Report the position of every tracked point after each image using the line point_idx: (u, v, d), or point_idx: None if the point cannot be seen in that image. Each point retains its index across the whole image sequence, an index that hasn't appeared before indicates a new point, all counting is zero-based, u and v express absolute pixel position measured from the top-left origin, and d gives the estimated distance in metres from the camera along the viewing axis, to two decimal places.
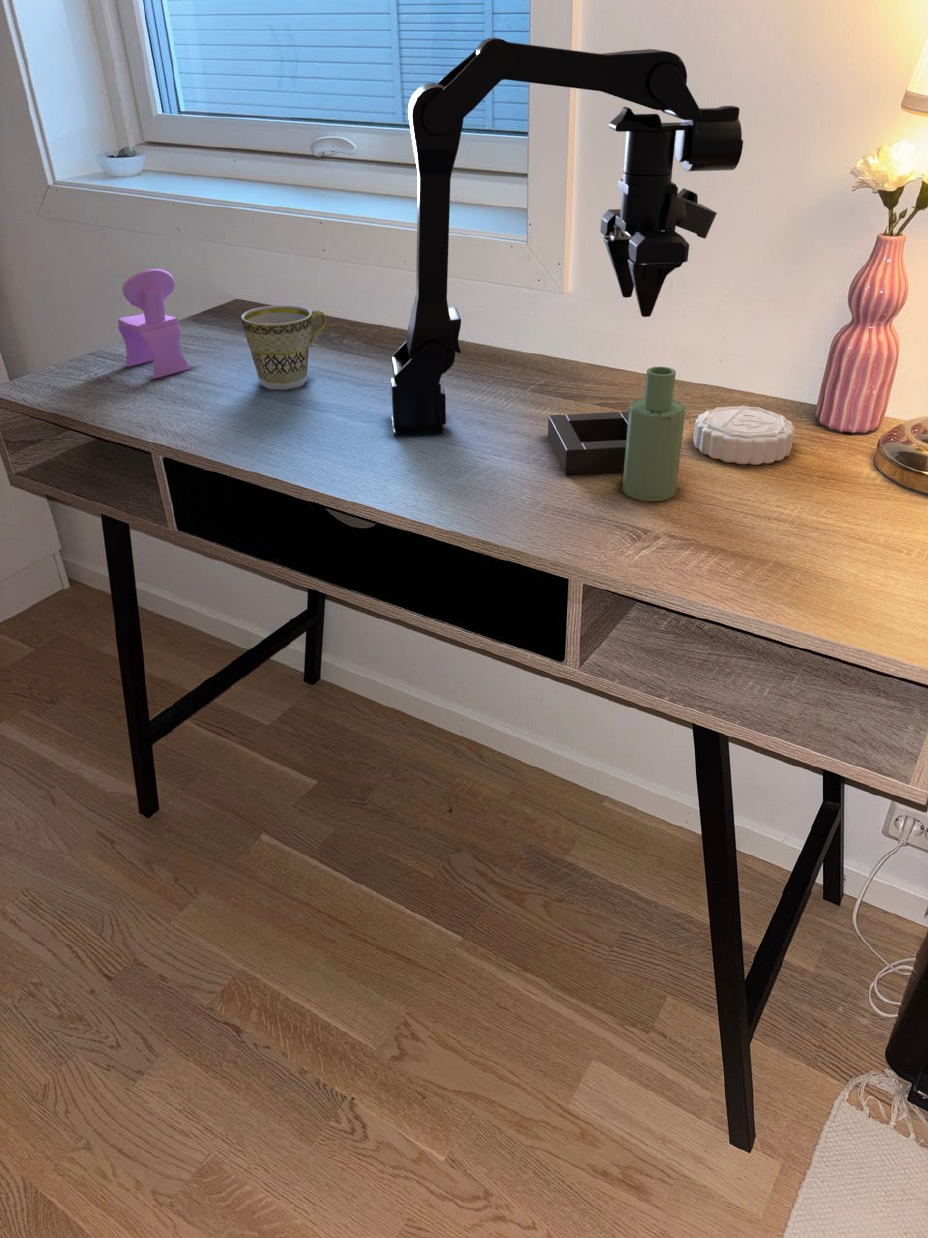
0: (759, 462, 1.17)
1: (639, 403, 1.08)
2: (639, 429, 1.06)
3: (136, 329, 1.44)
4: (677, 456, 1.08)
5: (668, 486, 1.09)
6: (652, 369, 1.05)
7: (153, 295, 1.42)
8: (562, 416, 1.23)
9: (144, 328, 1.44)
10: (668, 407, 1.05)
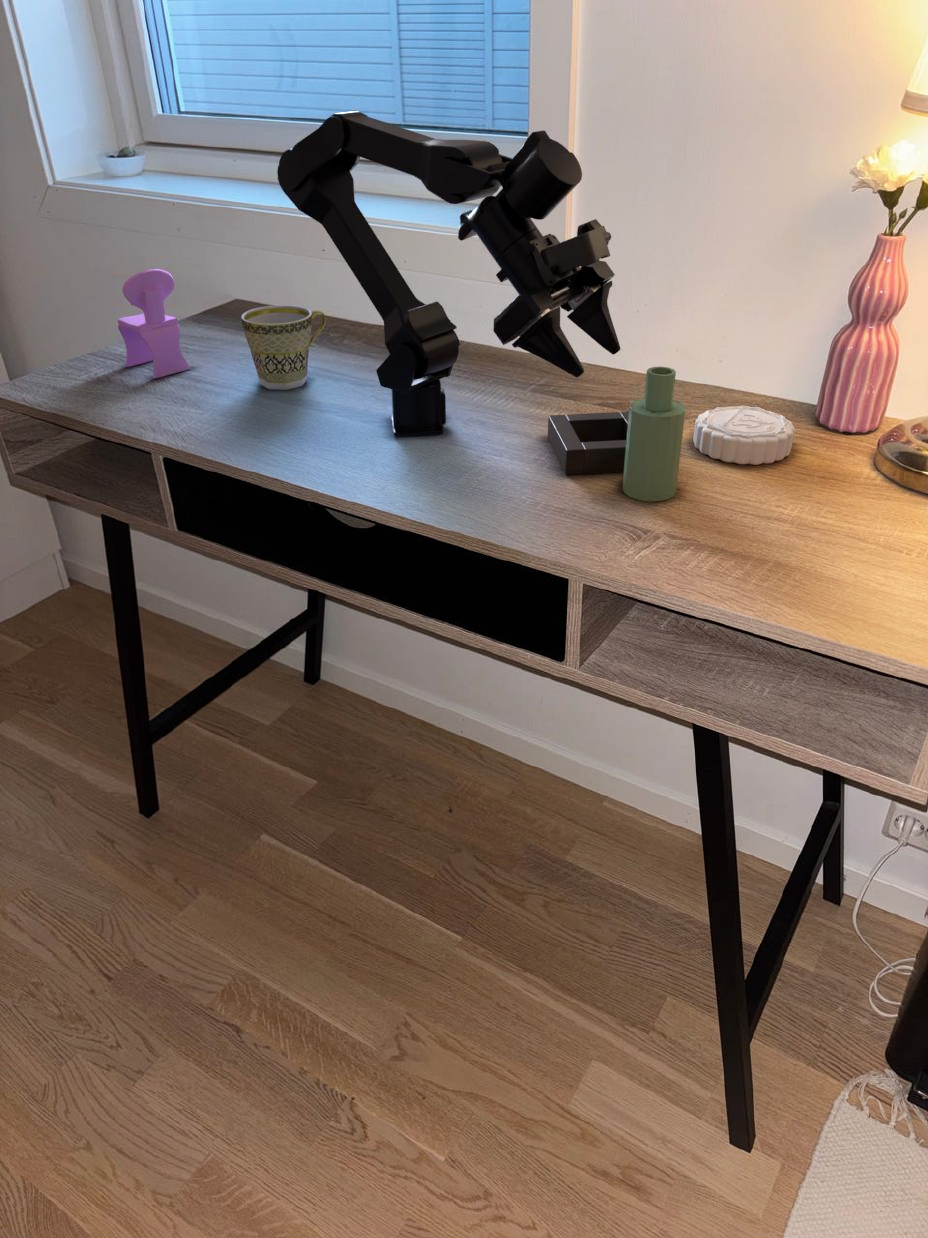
0: (759, 462, 1.17)
1: (639, 403, 1.08)
2: (639, 429, 1.06)
3: (136, 329, 1.44)
4: (677, 456, 1.08)
5: (668, 486, 1.09)
6: (652, 369, 1.05)
7: (153, 295, 1.42)
8: (562, 416, 1.23)
9: (144, 328, 1.44)
10: (668, 407, 1.05)
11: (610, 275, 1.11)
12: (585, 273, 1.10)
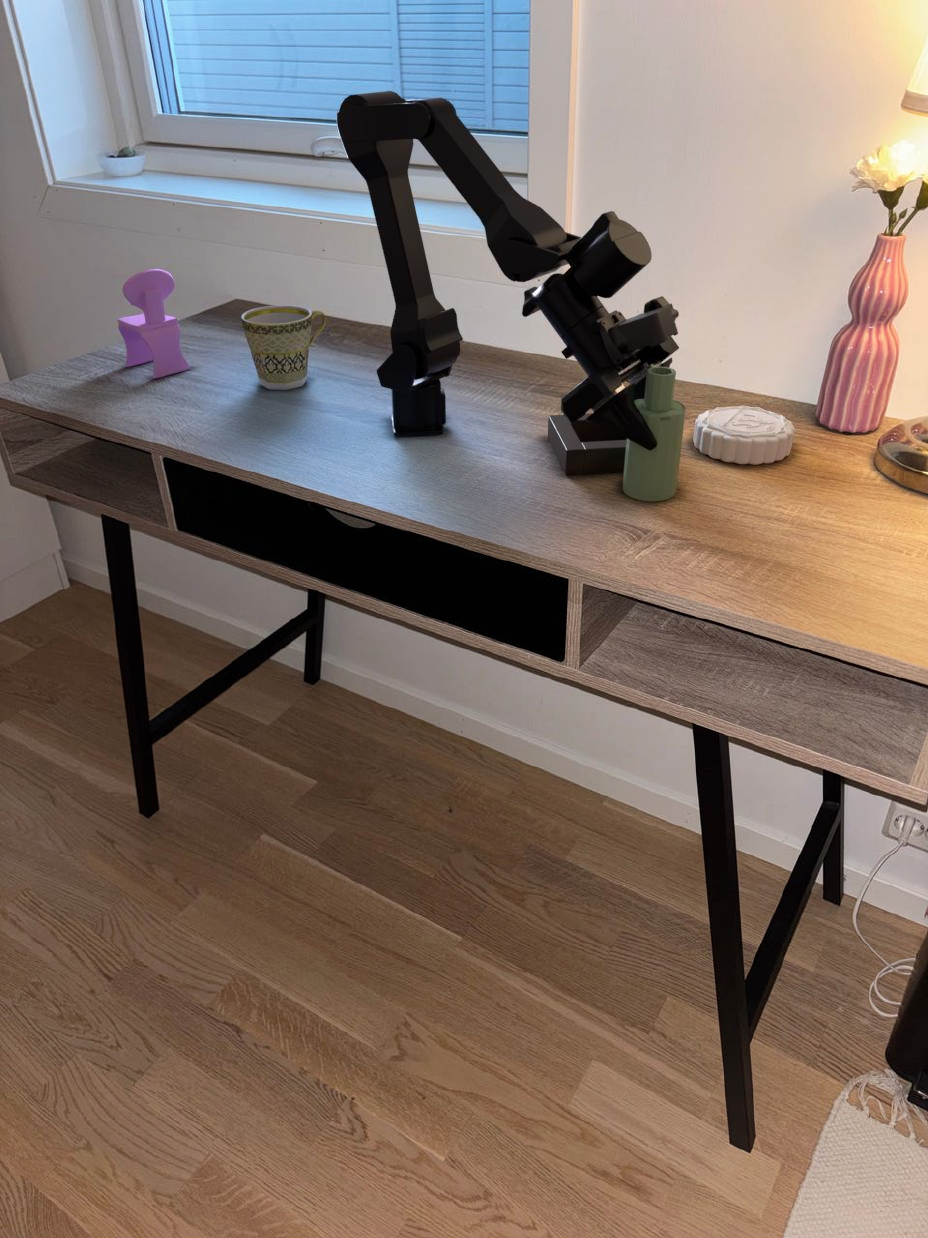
0: (759, 462, 1.17)
1: (639, 403, 1.08)
2: None
3: (136, 329, 1.44)
4: (677, 456, 1.08)
5: (668, 486, 1.09)
6: (652, 369, 1.05)
7: (153, 295, 1.42)
8: (562, 416, 1.23)
9: (144, 328, 1.44)
10: (668, 407, 1.05)
11: (675, 348, 1.11)
12: (650, 347, 1.10)
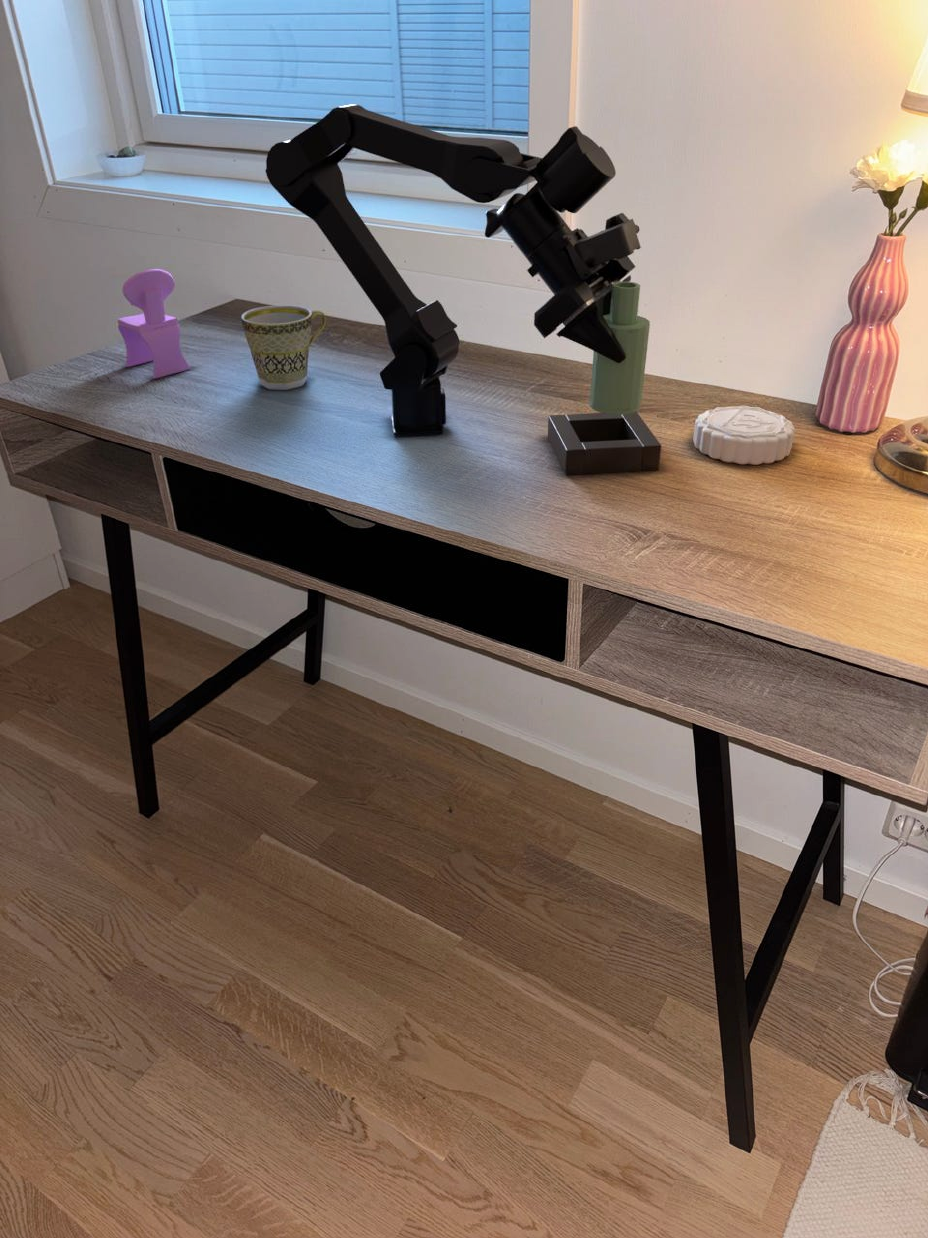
0: (759, 462, 1.17)
1: None
2: None
3: (136, 329, 1.44)
4: (643, 369, 1.12)
5: (635, 399, 1.13)
6: (617, 284, 1.09)
7: (153, 295, 1.42)
8: (562, 416, 1.23)
9: (144, 328, 1.44)
10: (634, 320, 1.09)
11: (632, 267, 1.15)
12: (609, 266, 1.13)
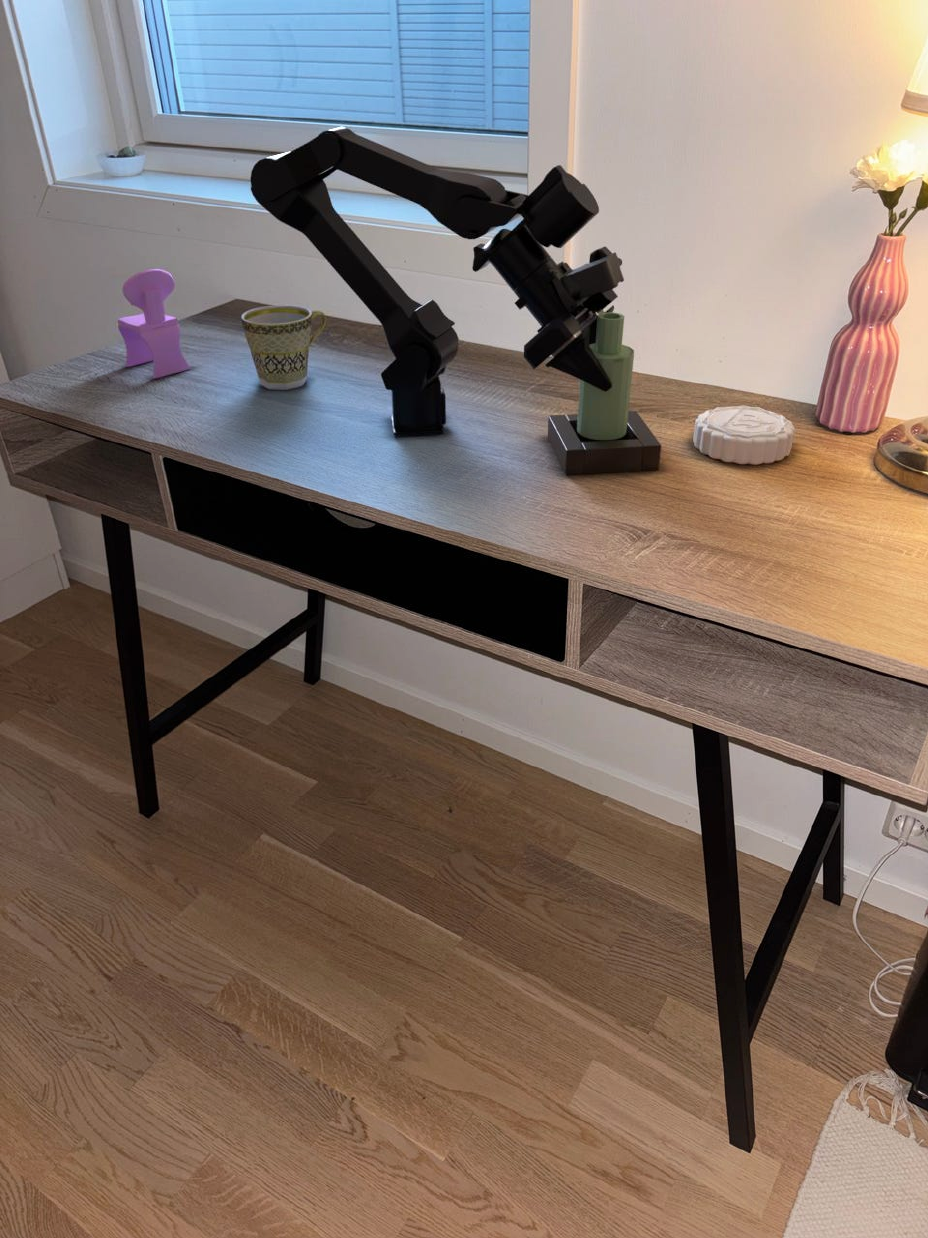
0: (759, 462, 1.17)
1: None
2: None
3: (136, 329, 1.44)
4: (628, 396, 1.16)
5: (621, 425, 1.17)
6: (602, 315, 1.12)
7: (153, 295, 1.42)
8: (562, 416, 1.23)
9: (144, 328, 1.44)
10: (619, 350, 1.13)
11: (615, 297, 1.18)
12: (593, 296, 1.17)
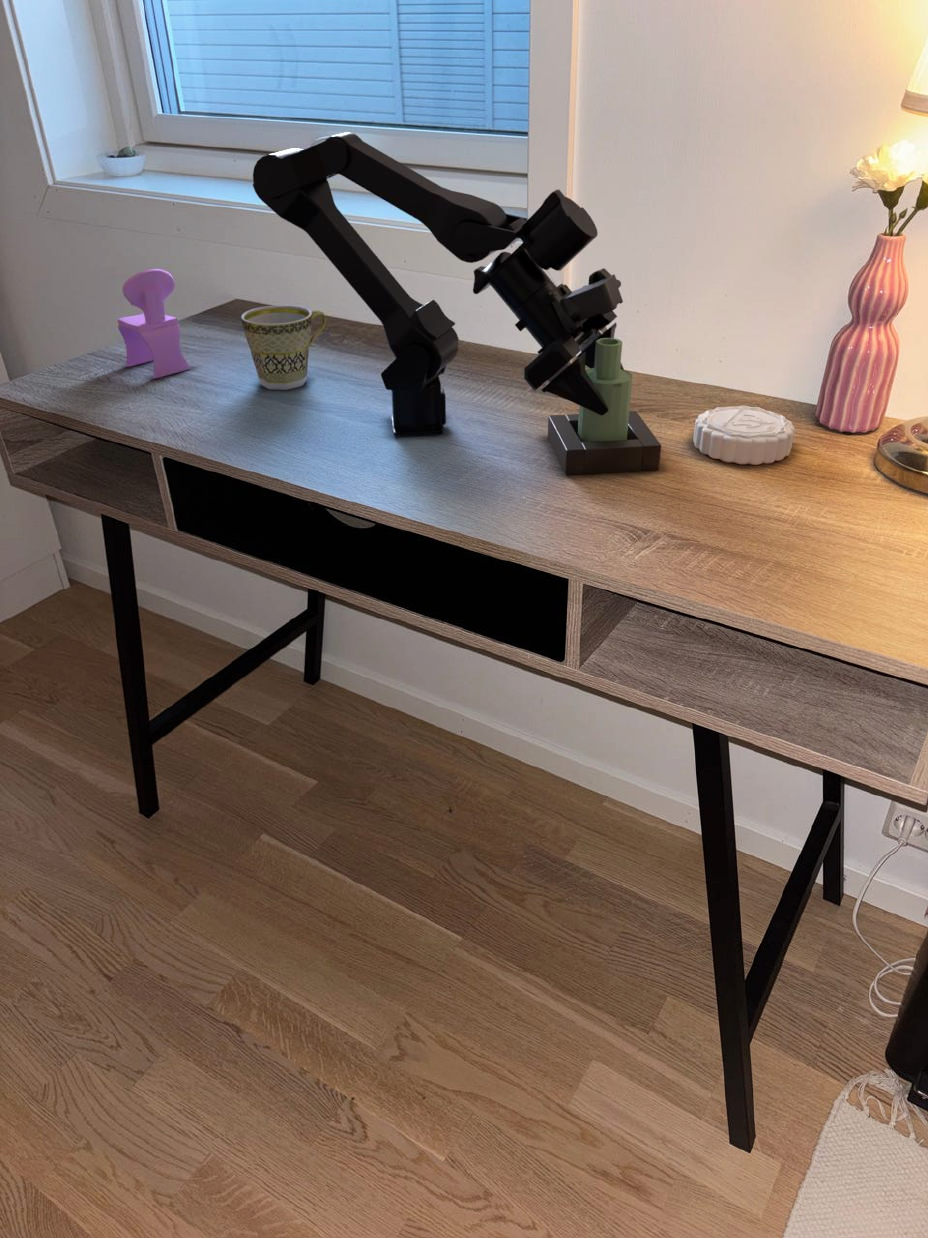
0: (759, 462, 1.17)
1: (589, 373, 1.16)
2: None
3: (136, 329, 1.44)
4: (627, 420, 1.17)
5: None
6: (600, 340, 1.14)
7: (153, 295, 1.42)
8: (562, 416, 1.23)
9: (144, 328, 1.44)
10: (617, 375, 1.15)
11: (614, 317, 1.20)
12: (592, 317, 1.18)
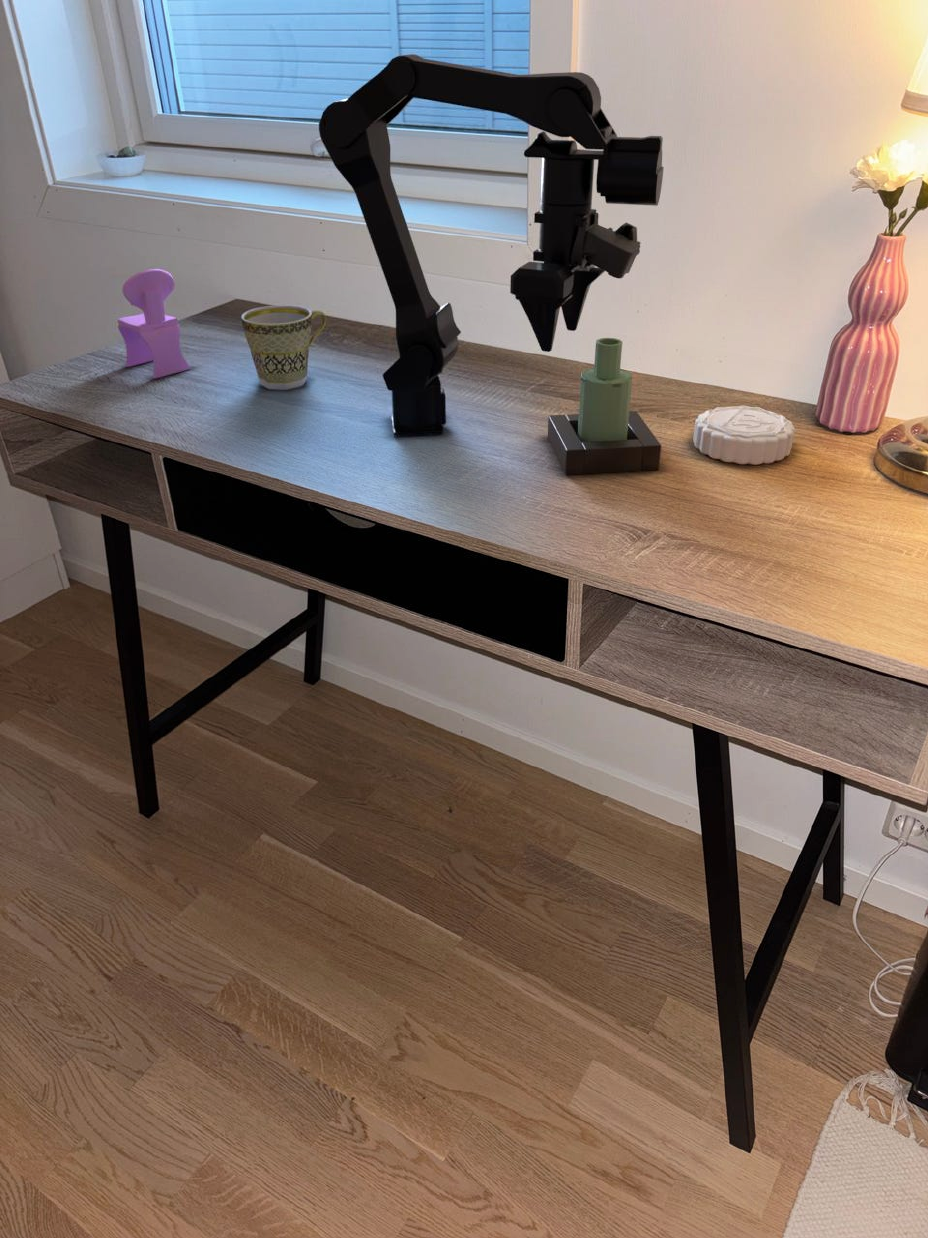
0: (759, 462, 1.17)
1: (589, 373, 1.16)
2: (593, 396, 1.15)
3: (136, 329, 1.44)
4: (627, 420, 1.17)
5: None
6: (600, 340, 1.14)
7: (153, 295, 1.42)
8: (562, 416, 1.23)
9: (144, 328, 1.44)
10: (617, 375, 1.15)
11: None
12: None
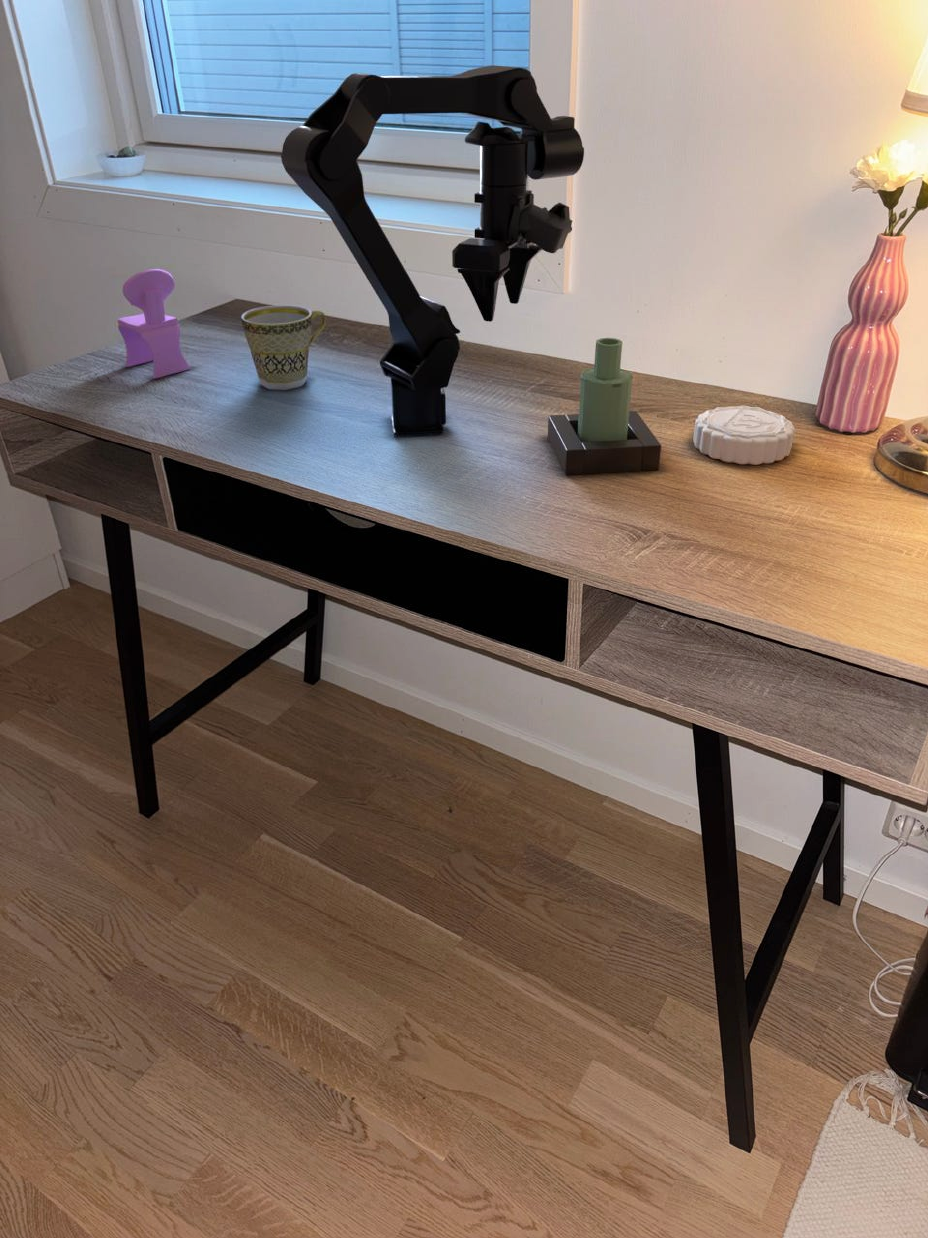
0: (759, 462, 1.17)
1: (589, 373, 1.16)
2: (593, 396, 1.15)
3: (136, 329, 1.44)
4: (627, 420, 1.17)
5: None
6: (600, 340, 1.14)
7: (153, 295, 1.42)
8: (562, 416, 1.23)
9: (144, 328, 1.44)
10: (617, 375, 1.15)
11: None
12: None
